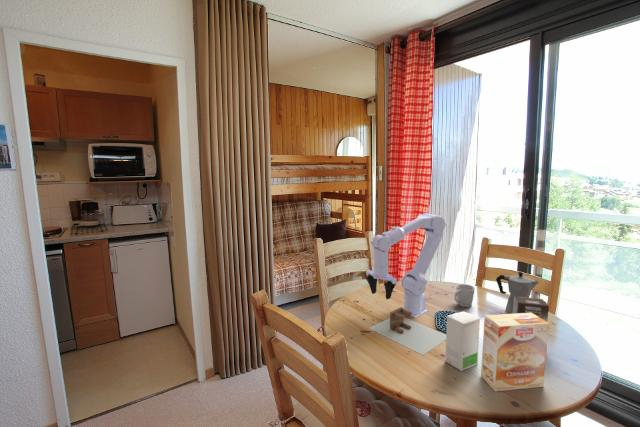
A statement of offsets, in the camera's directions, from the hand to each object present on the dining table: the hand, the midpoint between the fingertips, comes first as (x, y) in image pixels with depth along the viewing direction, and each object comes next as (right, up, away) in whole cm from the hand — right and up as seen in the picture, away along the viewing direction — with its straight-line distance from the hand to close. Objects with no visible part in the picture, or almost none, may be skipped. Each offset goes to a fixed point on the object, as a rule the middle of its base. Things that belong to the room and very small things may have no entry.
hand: (380, 295), depth 130 cm
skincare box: (+20, -14, -30) cm, 38 cm away
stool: (+6, -11, -8) cm, 15 cm away
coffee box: (+48, -12, -20) cm, 53 cm away
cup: (+40, -8, +12) cm, 42 cm away
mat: (+8, -11, -11) cm, 18 cm away
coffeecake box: (+30, -15, -39) cm, 52 cm away
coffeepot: (+59, -8, +5) cm, 60 cm away
